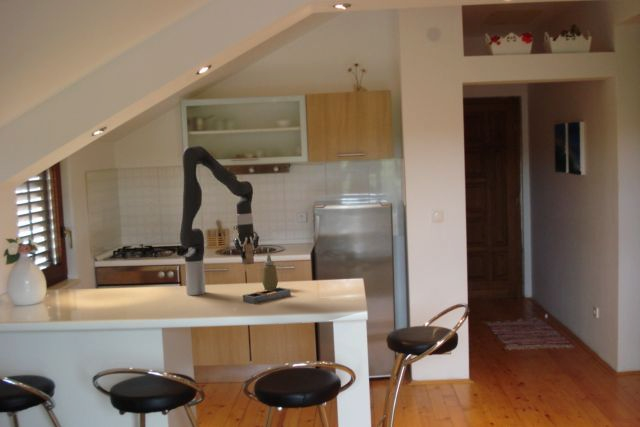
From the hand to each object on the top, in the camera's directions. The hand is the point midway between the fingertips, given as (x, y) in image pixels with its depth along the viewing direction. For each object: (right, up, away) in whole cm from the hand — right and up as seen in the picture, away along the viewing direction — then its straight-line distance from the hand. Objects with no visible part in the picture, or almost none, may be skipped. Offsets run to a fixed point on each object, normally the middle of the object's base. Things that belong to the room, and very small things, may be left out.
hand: (247, 258), depth 339 cm
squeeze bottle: (+10, -18, +22) cm, 30 cm away
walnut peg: (0, -3, 0) cm, 3 cm away
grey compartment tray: (+9, -20, +1) cm, 22 cm away
